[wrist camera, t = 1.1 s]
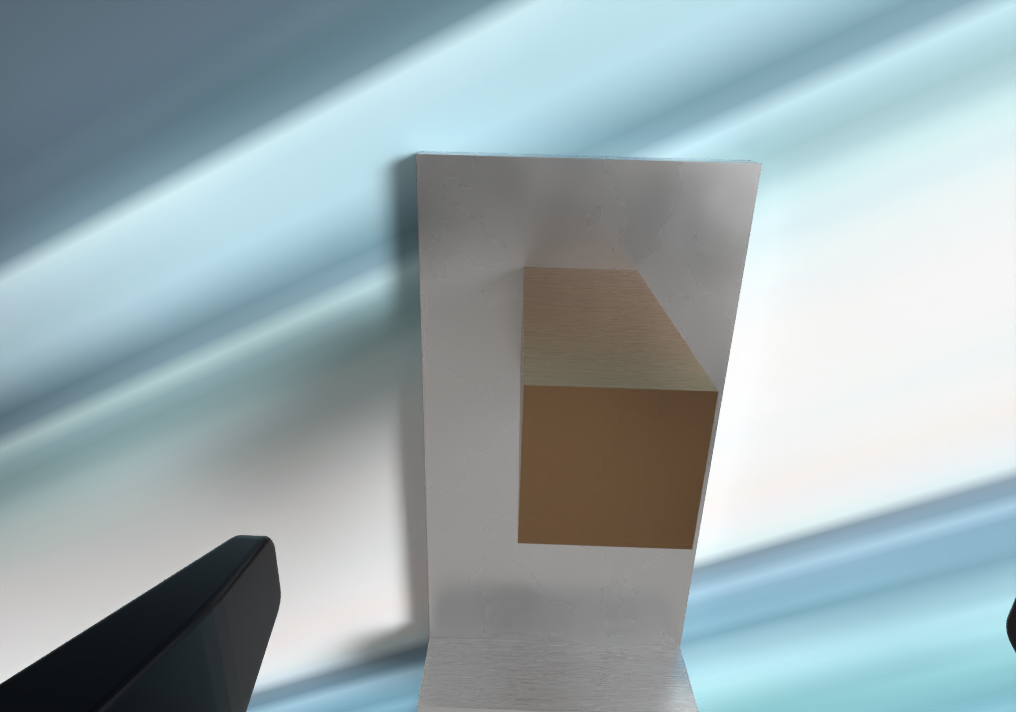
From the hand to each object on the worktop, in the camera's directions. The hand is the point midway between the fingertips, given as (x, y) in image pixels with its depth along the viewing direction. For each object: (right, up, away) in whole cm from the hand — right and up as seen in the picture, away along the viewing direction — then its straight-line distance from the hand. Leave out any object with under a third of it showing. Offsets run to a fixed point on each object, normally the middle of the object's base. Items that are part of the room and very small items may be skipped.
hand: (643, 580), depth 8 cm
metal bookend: (0, 0, +11) cm, 11 cm away
